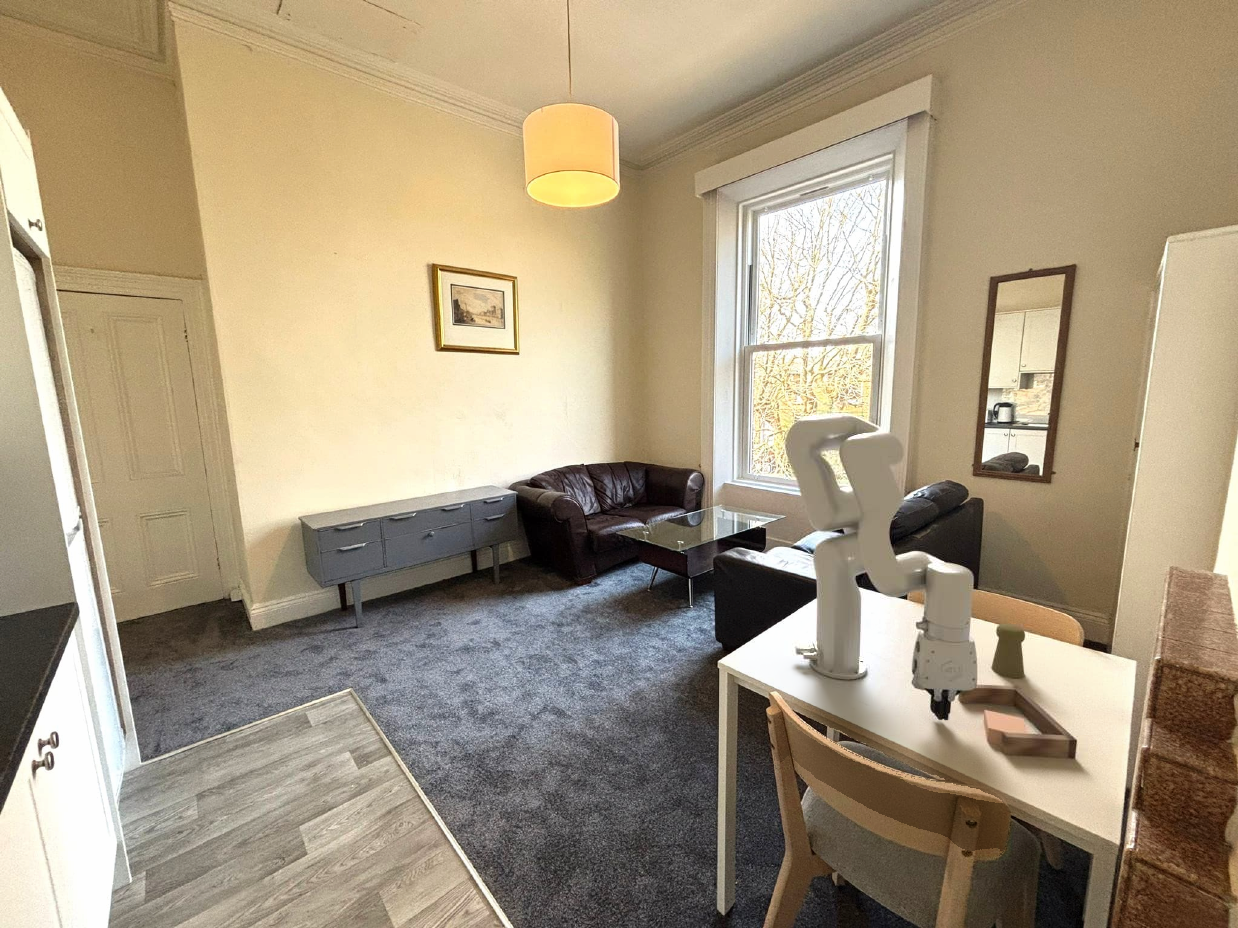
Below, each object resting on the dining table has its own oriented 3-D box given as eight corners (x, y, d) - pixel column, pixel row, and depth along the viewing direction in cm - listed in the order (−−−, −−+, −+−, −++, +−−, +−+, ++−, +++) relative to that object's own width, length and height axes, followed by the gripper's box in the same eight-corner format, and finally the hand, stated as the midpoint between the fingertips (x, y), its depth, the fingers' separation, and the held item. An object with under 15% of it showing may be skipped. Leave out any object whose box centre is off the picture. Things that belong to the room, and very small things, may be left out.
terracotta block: (987, 742, 95) (988, 727, 94) (983, 723, 100) (984, 709, 100) (1028, 752, 92) (1029, 737, 91) (1022, 732, 97) (1023, 718, 97)
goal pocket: (1005, 754, 91) (1006, 736, 91) (958, 699, 107) (959, 683, 107) (1075, 758, 90) (1077, 740, 89) (1016, 701, 106) (1018, 685, 105)
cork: (1030, 679, 113) (1034, 633, 111) (999, 677, 114) (1002, 631, 113) (1015, 665, 119) (1018, 620, 117) (986, 663, 120) (989, 619, 118)
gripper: (913, 637, 95) (907, 726, 98) (1000, 639, 93) (992, 730, 96) (896, 618, 102) (891, 702, 105) (976, 620, 100) (969, 705, 103)
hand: (939, 715), depth 100 cm, fingers closed
